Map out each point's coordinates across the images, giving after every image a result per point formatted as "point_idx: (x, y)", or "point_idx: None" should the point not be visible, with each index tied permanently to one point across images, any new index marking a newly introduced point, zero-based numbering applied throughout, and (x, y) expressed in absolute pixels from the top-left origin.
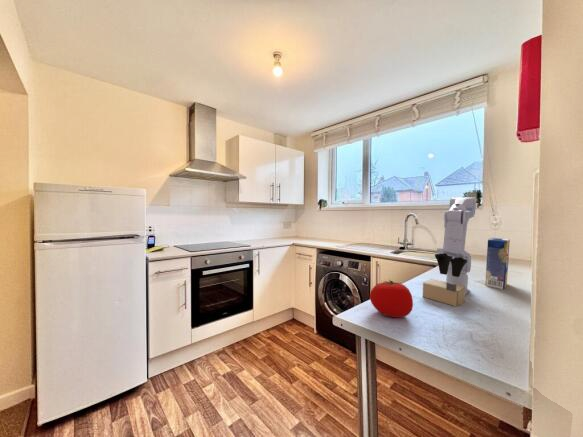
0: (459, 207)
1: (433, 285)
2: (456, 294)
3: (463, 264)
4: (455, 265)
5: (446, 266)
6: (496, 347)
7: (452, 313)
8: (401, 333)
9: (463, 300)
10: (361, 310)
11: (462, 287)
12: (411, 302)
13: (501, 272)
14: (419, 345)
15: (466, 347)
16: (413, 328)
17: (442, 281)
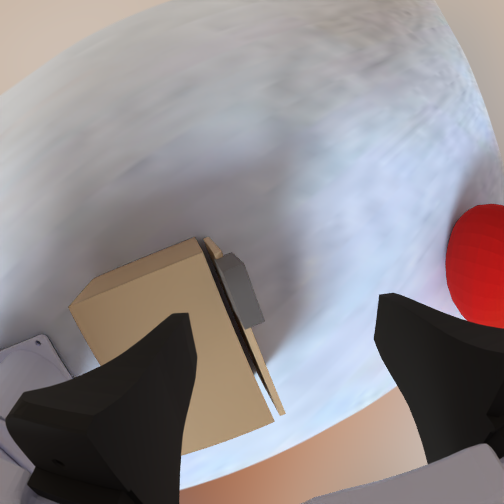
0: None
1: (268, 373)
2: (217, 248)
3: (102, 381)
4: (167, 428)
5: (450, 315)
6: (366, 11)
7: (296, 185)
8: (489, 166)
9: (109, 273)
10: None
11: (105, 299)
12: (498, 206)
13: None
14: (485, 117)
15: (426, 54)
16: (467, 168)
17: None
